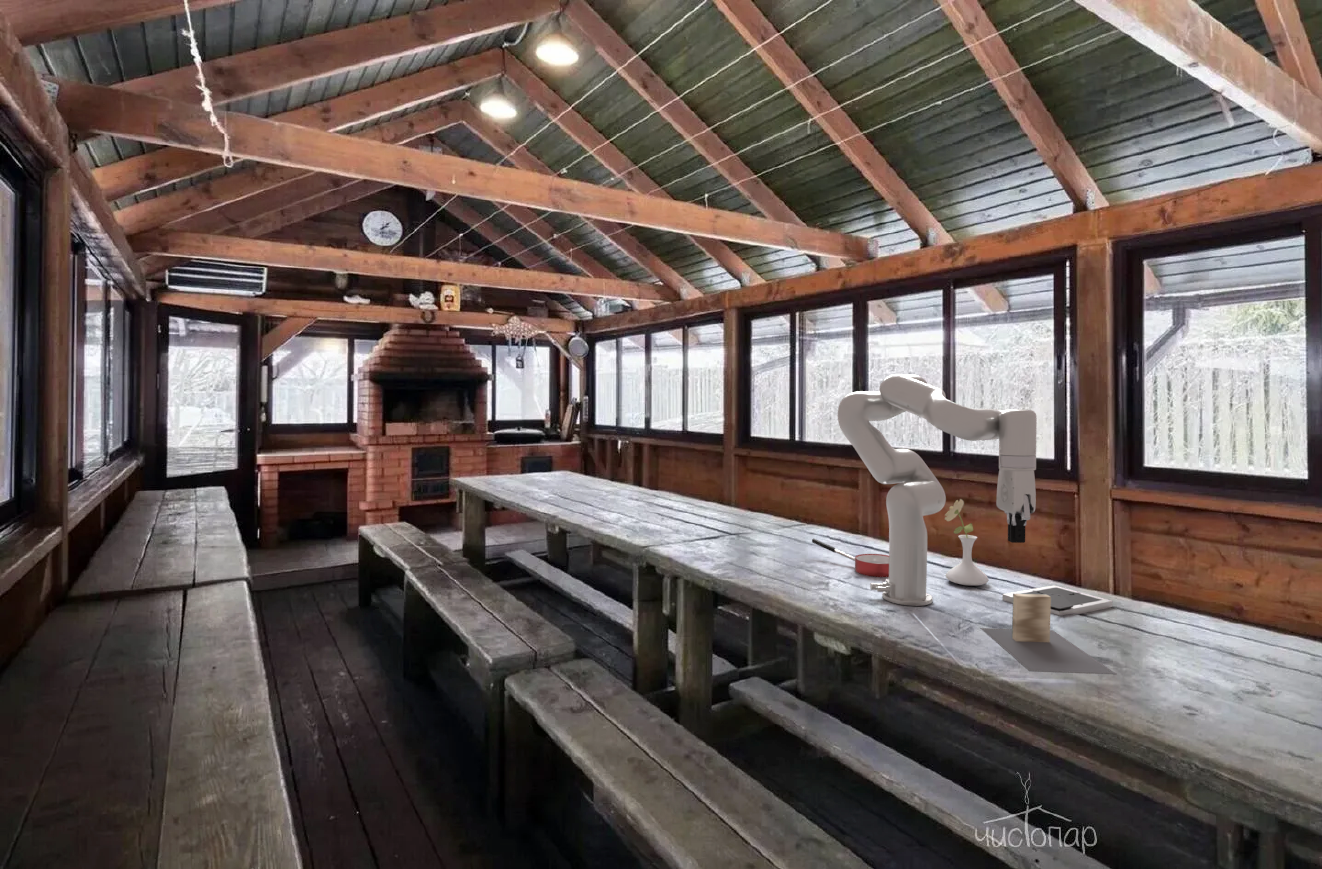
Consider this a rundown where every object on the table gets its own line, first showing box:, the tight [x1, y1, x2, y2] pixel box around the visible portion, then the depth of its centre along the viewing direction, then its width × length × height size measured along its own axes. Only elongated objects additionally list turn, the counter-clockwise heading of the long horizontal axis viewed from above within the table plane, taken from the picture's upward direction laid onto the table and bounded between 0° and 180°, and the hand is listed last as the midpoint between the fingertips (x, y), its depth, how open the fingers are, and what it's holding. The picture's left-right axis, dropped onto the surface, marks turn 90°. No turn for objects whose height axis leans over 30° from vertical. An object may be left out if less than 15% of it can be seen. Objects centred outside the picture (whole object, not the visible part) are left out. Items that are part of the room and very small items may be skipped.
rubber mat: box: [980, 627, 1117, 675], centre depth 137 cm, size 16×24×1 cm, turn 175°
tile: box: [1011, 594, 1051, 642], centre depth 142 cm, size 7×2×10 cm, turn 85°
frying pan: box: [811, 538, 889, 578], centre depth 208 cm, size 32×13×6 cm, turn 42°
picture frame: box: [1002, 584, 1114, 616], centre depth 170 cm, size 16×3×21 cm
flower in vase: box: [944, 498, 989, 587], centre depth 188 cm, size 13×11×25 cm
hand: (1016, 541), depth 150 cm, fingers closed
